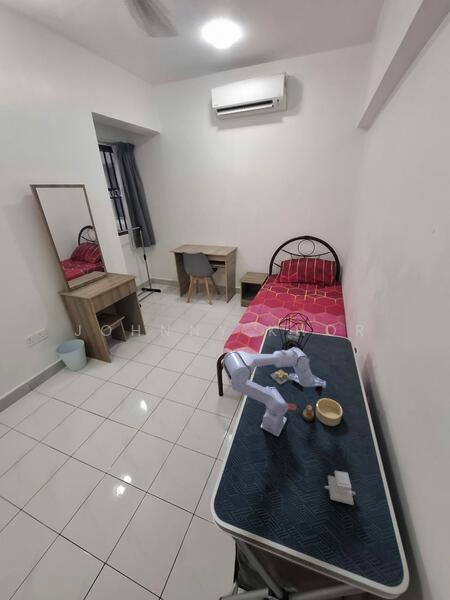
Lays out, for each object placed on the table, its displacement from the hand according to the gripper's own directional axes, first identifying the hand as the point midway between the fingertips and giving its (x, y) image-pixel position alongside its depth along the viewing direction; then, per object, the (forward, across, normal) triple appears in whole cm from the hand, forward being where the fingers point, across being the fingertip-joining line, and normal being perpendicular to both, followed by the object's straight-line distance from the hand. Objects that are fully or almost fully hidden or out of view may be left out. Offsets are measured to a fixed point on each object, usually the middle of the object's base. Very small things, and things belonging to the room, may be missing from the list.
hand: (311, 391), depth 101 cm
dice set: (+10, +20, -9) cm, 24 cm away
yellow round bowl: (+12, -5, +2) cm, 13 cm away
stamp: (+6, -16, +30) cm, 34 cm away
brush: (+9, +2, +7) cm, 11 cm away
